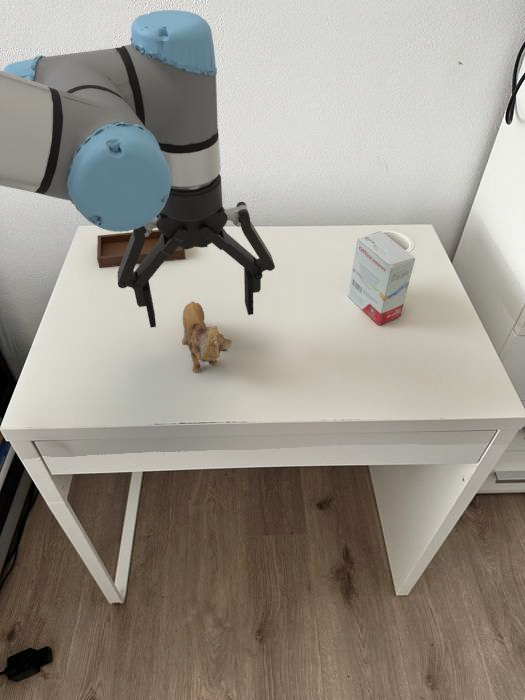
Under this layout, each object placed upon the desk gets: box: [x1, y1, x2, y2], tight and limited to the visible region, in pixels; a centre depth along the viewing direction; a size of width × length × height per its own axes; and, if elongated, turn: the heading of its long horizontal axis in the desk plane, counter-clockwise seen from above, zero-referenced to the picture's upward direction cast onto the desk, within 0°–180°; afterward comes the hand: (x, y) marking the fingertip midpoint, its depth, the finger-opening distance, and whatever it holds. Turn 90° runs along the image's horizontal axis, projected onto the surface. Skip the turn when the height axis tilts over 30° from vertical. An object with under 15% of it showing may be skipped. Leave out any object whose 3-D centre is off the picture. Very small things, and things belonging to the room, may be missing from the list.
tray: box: [96, 229, 186, 269], centre depth 97 cm, size 15×7×2 cm, turn 101°
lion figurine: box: [181, 301, 233, 374], centre depth 78 cm, size 15×5×9 cm, turn 27°
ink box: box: [347, 230, 416, 326], centre depth 84 cm, size 9×5×12 cm, turn 29°
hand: (201, 314), depth 75 cm, fingers open, 13 cm apart
